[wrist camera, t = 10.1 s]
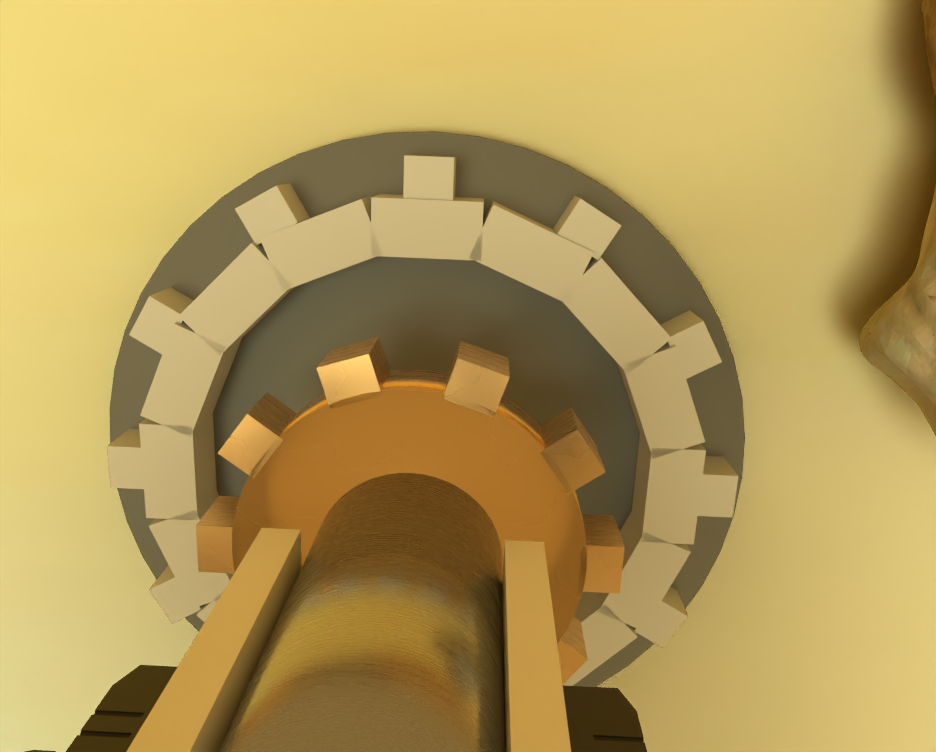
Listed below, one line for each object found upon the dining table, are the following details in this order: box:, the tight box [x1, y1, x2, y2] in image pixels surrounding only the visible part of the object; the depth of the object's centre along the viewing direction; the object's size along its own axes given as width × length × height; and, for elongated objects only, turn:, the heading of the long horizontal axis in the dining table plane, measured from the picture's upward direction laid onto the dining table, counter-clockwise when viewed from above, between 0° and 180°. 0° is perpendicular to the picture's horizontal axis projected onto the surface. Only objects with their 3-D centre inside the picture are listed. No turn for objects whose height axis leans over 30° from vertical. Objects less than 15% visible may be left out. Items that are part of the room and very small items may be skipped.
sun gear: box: [196, 337, 625, 752], centre depth 13 cm, size 9×9×10 cm
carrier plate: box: [107, 132, 745, 687], centre depth 22 cm, size 18×18×2 cm
